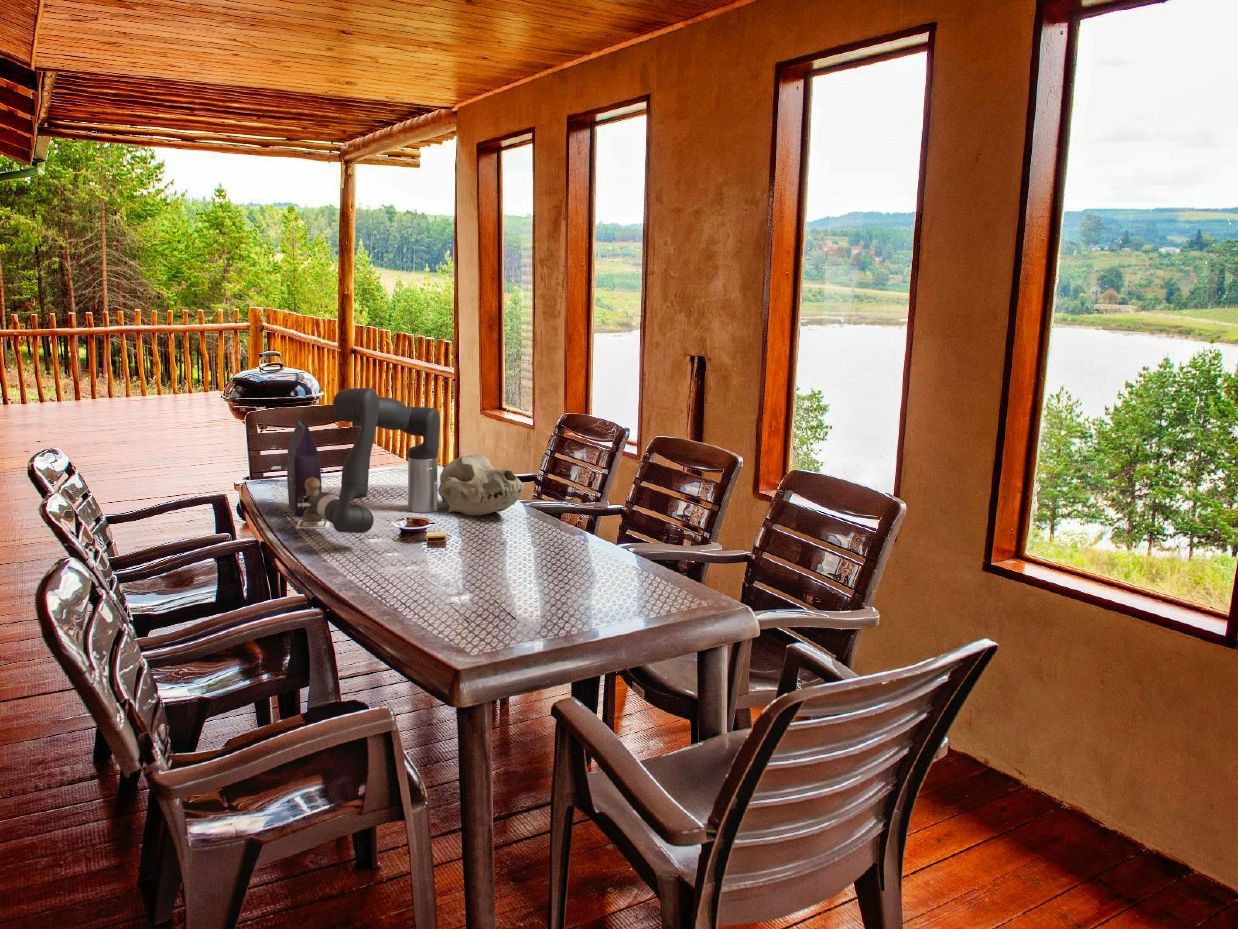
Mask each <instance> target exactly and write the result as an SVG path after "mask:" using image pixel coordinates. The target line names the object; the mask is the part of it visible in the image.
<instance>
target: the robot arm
mask: <svg viewBox="0 0 1238 929" xmlns="http://www.w3.org/2000/svg"><path fill="white" fill-rule="evenodd" d="M332 401H333V402H332V407H333V408H332V409H333V412H334V413H335V415H336V416H337V418H338V419H339V420H341V421H343V422H345V423H360V430H359V433H358V436H357V438H356V440H355V442H354V443H353V444H352V445H353V446H352V447H351V449H350V450H349V451H348V454H347V455H346V457H345V458H344V461H343V464H342V469H341V480H340V482H341V483H340V484H341V485H340V493H339V494H335V493H332V492H329V491H324V492H323V491H322V492H321V493H319V494H318V495H317V496H313V495H310V496H308V495H306V494H304V493H303V494H301V495H300V497H298V509H302V508H304V506H307V507H308V508H311V509H312V510H313V511H314V513H315V514H316V515H317V516H319V517H320V518H322V520H326V521H328V522H330V524H332V525H333V526H332V527H333V528H334V530H336V532H339V533H347V534H348V533H349V534H364V533H365V534H366V533H368V532H369V531H370V530H371V529H372V528H373V525H374V519H375V518H374V515H373V513H372V511H371V510H370V509H369V508H368V507H365V506H363V505H360V504H359V505H358V504H353V503H352V502H353V501H354V500H358V499H363V498H365V497H367V495H368V493H369V492H368V491H369V473H370V460H371V454H372V450H373V445H374V441H375V437H376V436H375V435H376V430H377V428H381V429H383V430H388V431H401V432H403V433H405V434H407V435H409V436H416V437H424V438H423V442H421V443H420V444H418V445H414V446H411V447H410V448H408V454H407V463H408V464H407V510H408V511H410V512H412V513H413V512H414V513H431V512H438V502H439V500H438V495H439V492H438V488H439V485H438V457H439V456H438V455H439V454H438V453H439V448H440V429H441V428H440V427H441V417H440V413H439V410H438V409H436V408H435V407H426V406H425V407H424V406H406V404H405V403H403V402H402V401H400V400H398V399H395V398H392V397H386V396H379V395H378V393H377V392H376V390H375V389H373V388H370V387H364V388H363V387H357V388H356V387H355V388H354V387H351V388H344V389H341V390H339V391H338V392H337V393H336V394H335V395H334V397H333V400H332Z"/></svg>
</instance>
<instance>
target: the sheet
mask: <svg viewBox="0 0 1238 929" xmlns="http://www.w3.org/2000/svg"><path fill="white" fill-rule="evenodd" d="M330 524H331V522H328V521H326V520H324V519H322V520H321V522H304V521H303V520H298V522H297V524H296V526H295V529H297V530H298V529H303V530H304V529H329V527H330Z"/></svg>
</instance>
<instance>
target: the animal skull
mask: <svg viewBox="0 0 1238 929" xmlns="http://www.w3.org/2000/svg"><path fill="white" fill-rule="evenodd" d="M439 482H440V483H439V485H438V495H439V496H440V498H441V504H445V503H446V504H448V508H447V509H446V511H447V512H448V513H451V512H458V513H462V514H464V515H466V516H472V517H473V516H474V517H475V516H482V515H487V514H491V513H494V512H495V513H496V512H498V513H499V512H503V511H505V510H507V509H508V508H510V507H511V506H515V503H516V502H517V501H518V500H519V498H520V497H521V495H524V490H525V484H524V482H522V481H521V480H520V479H519V478H518V477H517V476H516V474H514V473H513V471H512V470H508V469H504V468H503V469H502V468H501V469H496V468H495V467H494V466H493V465H492V464H491V462H490V459H488V458H487V457H486V456H484V455H482V454H477V453H475V454H469V455H465V456H464V455H461V456H460V457H457V458H456V459H453V460H451V461H450V462H449V463H447V464H446V465H445V466H443V468H442V471H441V473H440V476H439Z"/></svg>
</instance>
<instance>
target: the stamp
mask: <svg viewBox="0 0 1238 929" xmlns="http://www.w3.org/2000/svg"><path fill="white" fill-rule="evenodd" d="M320 485H321V484H320V481H319V480H318V479H317V478H315V477H311V478H308V479H307V480H306V482H305V488H306V495H308V496H310V495H313V496H317V495H318V494H319V488H320ZM302 519H303V520H302V521H304V522H321V520H323V519H322V518H320V517H319V516H317V515H316V514H315V513H314V511H313V510H312V509H311V508H308V507H307V510H305V511H304V514H303V517H302Z"/></svg>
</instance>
